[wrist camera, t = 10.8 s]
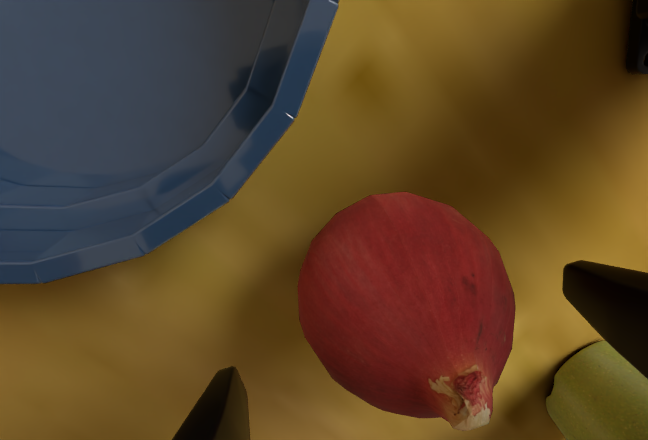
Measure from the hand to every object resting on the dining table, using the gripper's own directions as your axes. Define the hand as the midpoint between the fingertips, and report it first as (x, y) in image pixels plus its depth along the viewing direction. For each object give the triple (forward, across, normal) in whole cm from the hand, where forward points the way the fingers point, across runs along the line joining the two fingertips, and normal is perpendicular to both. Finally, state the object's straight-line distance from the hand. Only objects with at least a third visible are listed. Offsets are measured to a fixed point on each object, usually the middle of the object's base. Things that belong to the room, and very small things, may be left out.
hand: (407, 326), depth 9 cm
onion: (+5, 0, 0) cm, 5 cm away
